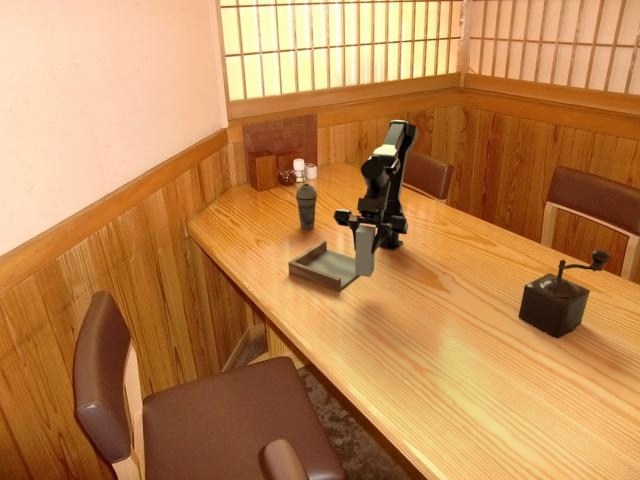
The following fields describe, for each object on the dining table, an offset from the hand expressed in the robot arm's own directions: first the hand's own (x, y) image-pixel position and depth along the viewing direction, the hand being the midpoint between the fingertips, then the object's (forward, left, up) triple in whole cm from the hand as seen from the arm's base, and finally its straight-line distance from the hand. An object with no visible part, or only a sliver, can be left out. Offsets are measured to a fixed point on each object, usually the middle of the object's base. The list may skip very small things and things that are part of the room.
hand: (363, 252), depth 118 cm
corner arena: (-6, -14, -12) cm, 20 cm away
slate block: (-1, 0, -7) cm, 7 cm away
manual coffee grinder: (-17, +44, -13) cm, 49 cm away
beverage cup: (-25, -38, -13) cm, 47 cm away
